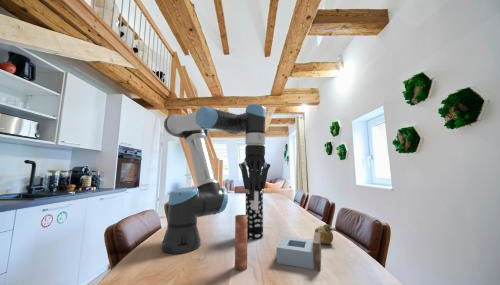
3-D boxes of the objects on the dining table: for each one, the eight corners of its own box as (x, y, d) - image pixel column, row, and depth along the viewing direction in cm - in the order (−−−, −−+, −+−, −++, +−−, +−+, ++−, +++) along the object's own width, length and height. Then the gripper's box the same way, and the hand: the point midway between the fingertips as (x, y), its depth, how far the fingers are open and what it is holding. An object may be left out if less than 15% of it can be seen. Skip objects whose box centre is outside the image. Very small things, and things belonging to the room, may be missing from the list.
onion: (325, 239, 91) (324, 220, 92) (338, 245, 84) (337, 225, 85) (311, 240, 89) (310, 222, 90) (323, 247, 81) (322, 226, 82)
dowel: (232, 269, 63) (233, 216, 65) (237, 264, 67) (238, 214, 69) (244, 271, 62) (244, 217, 64) (249, 266, 65) (249, 215, 68)
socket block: (276, 263, 67) (276, 247, 68) (283, 249, 79) (283, 236, 79) (313, 269, 63) (313, 252, 64) (315, 254, 74) (315, 240, 75)
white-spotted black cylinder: (265, 235, 96) (265, 192, 99) (259, 240, 89) (258, 194, 91) (250, 232, 100) (250, 191, 102) (242, 238, 92) (242, 193, 95)
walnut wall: (313, 269, 63) (312, 242, 64) (315, 254, 74) (314, 231, 75) (320, 270, 62) (319, 243, 63) (321, 255, 74) (320, 232, 75)
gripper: (245, 143, 70) (243, 213, 67) (274, 145, 76) (274, 209, 73) (235, 145, 76) (233, 209, 73) (263, 147, 83) (263, 206, 80)
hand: (254, 209), depth 73 cm, fingers closed
